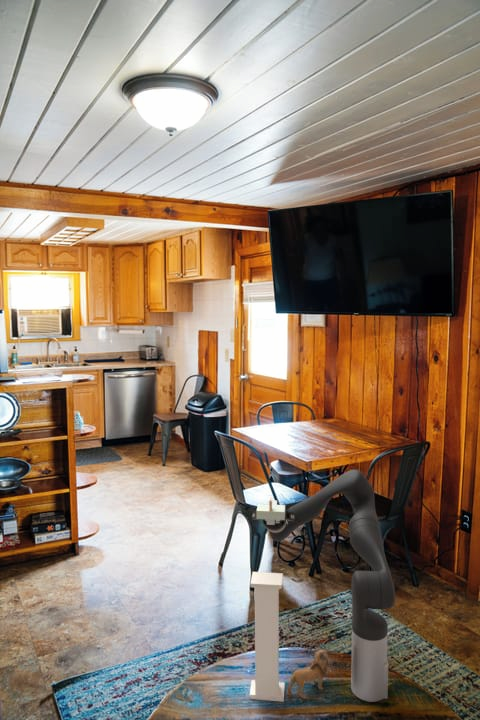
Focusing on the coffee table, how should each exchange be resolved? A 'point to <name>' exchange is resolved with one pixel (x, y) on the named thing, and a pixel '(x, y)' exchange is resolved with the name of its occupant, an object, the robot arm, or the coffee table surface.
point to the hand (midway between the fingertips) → (271, 512)
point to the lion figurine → (310, 674)
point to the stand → (267, 637)
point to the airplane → (270, 512)
